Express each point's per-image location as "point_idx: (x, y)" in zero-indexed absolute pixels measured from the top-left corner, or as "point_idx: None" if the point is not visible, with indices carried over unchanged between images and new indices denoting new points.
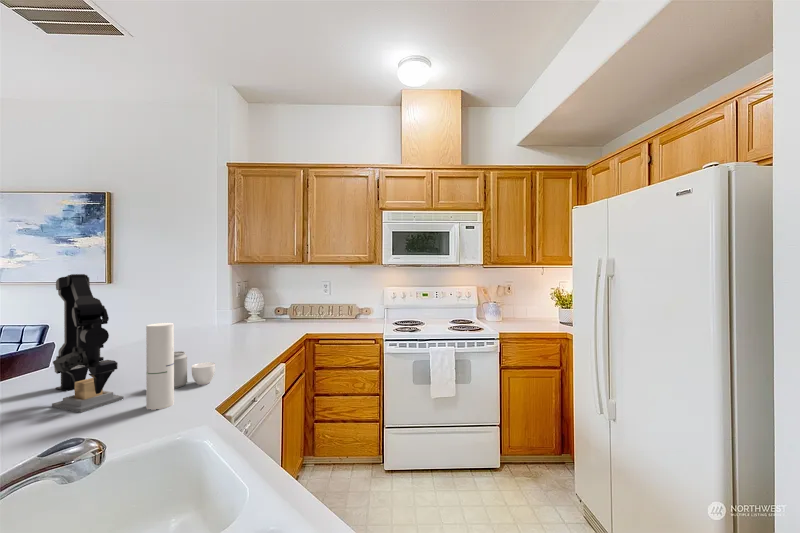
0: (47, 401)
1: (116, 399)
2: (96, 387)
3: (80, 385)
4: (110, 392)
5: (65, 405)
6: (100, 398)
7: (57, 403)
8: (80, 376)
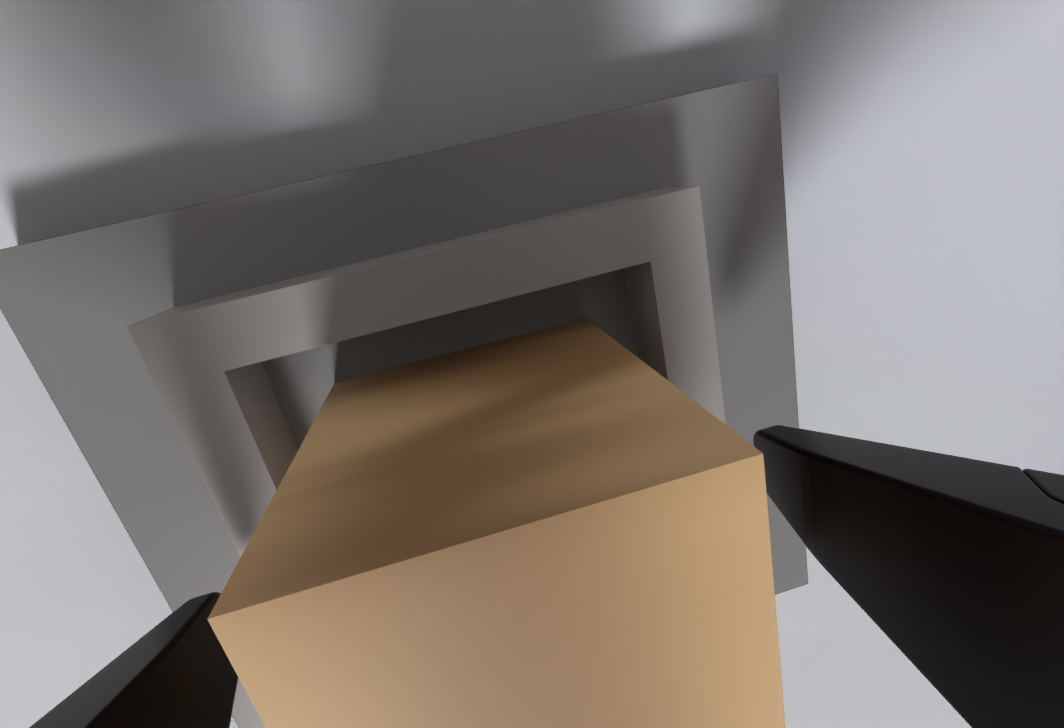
0: (1051, 134)
1: None
2: (39, 723)
3: (444, 500)
4: None
5: (468, 168)
6: None
7: (705, 127)
8: (1038, 672)
